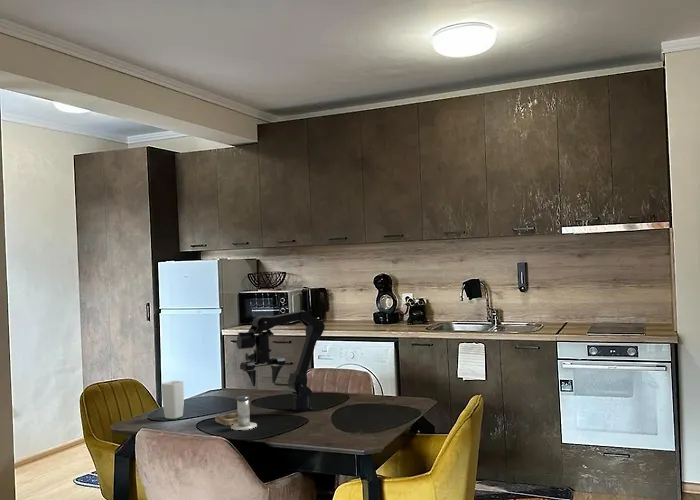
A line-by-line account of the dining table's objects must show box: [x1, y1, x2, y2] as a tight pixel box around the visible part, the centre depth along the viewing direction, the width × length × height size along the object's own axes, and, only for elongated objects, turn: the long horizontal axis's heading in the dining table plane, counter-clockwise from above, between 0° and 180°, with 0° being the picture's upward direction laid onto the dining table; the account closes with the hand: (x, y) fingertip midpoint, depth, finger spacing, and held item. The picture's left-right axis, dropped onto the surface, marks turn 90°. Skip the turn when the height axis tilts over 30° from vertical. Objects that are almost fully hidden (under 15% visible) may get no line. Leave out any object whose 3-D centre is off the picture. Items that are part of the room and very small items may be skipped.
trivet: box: [230, 421, 258, 431], centre depth 250 cm, size 10×10×1 cm
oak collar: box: [214, 411, 238, 427], centre depth 260 cm, size 10×10×2 cm
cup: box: [161, 380, 185, 420], centre depth 270 cm, size 7×7×15 cm
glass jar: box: [236, 395, 251, 427], centre depth 250 cm, size 5×5×11 cm
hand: (263, 384), depth 267 cm, fingers open, 9 cm apart
